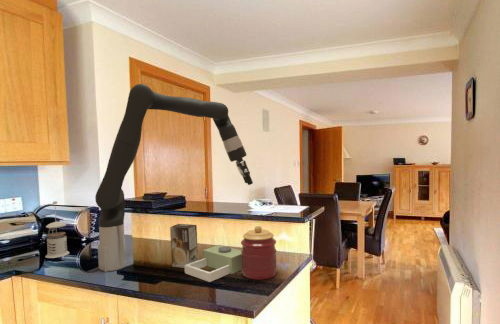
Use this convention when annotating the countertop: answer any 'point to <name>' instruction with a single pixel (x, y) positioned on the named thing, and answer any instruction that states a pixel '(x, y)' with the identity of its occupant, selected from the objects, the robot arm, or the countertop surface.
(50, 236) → the french press
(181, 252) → the coffee box
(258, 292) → the countertop surface
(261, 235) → the canister
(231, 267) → the dome button panel
